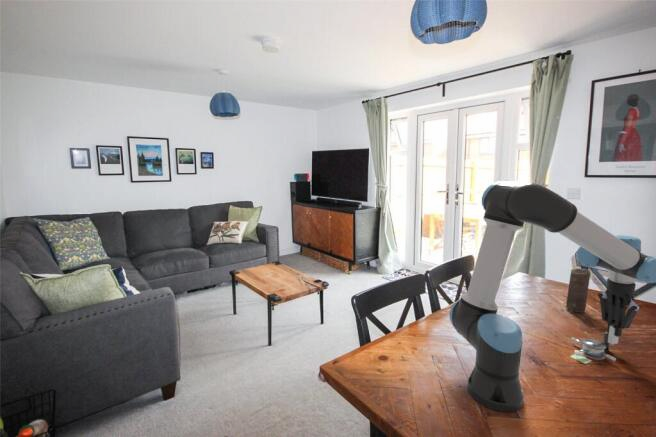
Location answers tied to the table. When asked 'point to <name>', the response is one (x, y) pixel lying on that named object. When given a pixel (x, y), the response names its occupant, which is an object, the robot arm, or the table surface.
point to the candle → (578, 290)
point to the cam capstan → (594, 347)
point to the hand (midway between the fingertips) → (612, 342)
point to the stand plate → (583, 359)
